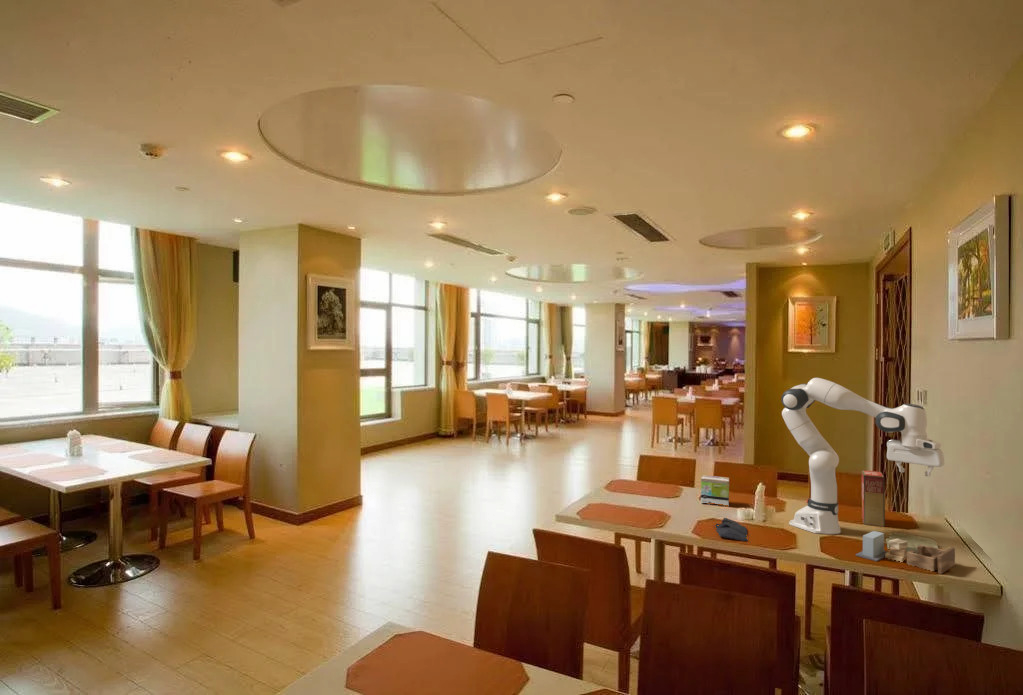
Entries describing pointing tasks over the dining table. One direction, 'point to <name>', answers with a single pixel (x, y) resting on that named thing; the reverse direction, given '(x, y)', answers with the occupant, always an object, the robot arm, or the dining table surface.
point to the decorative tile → (912, 541)
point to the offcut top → (898, 543)
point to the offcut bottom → (895, 557)
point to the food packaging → (873, 498)
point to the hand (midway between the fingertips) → (914, 474)
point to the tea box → (715, 490)
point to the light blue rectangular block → (873, 544)
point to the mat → (872, 557)
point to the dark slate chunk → (732, 530)
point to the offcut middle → (898, 551)
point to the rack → (932, 558)
